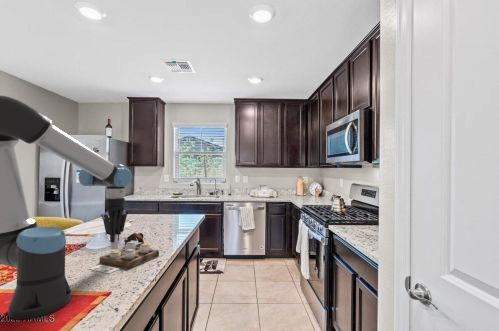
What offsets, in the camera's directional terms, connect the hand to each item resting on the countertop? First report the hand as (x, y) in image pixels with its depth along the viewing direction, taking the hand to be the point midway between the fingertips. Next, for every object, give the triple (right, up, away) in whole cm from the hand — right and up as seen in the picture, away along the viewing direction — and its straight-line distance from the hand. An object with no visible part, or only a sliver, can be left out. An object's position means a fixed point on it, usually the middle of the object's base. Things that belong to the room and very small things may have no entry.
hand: (114, 248), depth 117 cm
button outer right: (+12, -3, +5) cm, 13 cm away
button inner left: (0, -5, 0) cm, 5 cm away
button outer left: (+4, -3, +9) cm, 10 cm away
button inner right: (+8, -3, -3) cm, 10 cm away
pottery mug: (-1, -6, +24) cm, 25 cm away
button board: (+6, -6, +3) cm, 9 cm away
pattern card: (+1, -6, -10) cm, 11 cm away
